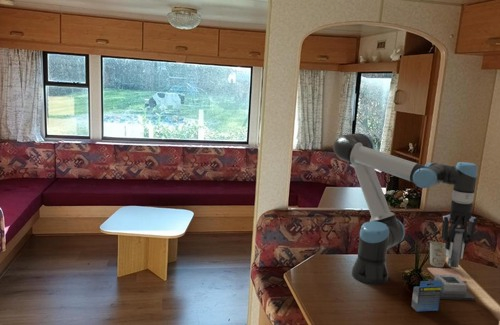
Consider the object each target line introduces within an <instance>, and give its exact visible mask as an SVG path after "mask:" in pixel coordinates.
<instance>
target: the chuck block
mask: <svg viewBox="0 0 500 325" xmlns="http://www.w3.org/2000/svg"><path fill="white" fill-rule="evenodd" d="M433 276H434V275H433ZM441 280H442V284H441V291H440V299H439V300H457V301H475V300H476V297H475V296H473V294H471V293H470V292H469V290H467V288H468V285H467V284H466V282H463V281H462V280H460V279H459V278H458V277H457V276H456V275H439V274H435V276H434V277H433V279H432V280H431V281H441ZM431 285H434V284H432V283H431Z"/></svg>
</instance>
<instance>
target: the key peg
mask: <svg viewBox="0 0 500 325" xmlns="http://www.w3.org/2000/svg"><path fill="white" fill-rule="evenodd" d="M454 231H455V233H454V235H453V238H452V241H451V242H452V243H453V247H452V254H451V258H448V257H447V259H448V260H447V266H449V267H450V268H459V264H460V252H461V246H462V239H463V232H465V229H464V228H462V227H461V225H458V226H457V227H456V228H455V230H454Z"/></svg>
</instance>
